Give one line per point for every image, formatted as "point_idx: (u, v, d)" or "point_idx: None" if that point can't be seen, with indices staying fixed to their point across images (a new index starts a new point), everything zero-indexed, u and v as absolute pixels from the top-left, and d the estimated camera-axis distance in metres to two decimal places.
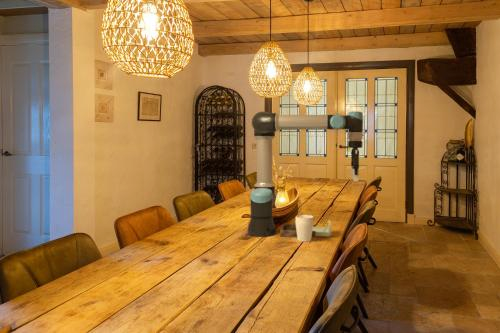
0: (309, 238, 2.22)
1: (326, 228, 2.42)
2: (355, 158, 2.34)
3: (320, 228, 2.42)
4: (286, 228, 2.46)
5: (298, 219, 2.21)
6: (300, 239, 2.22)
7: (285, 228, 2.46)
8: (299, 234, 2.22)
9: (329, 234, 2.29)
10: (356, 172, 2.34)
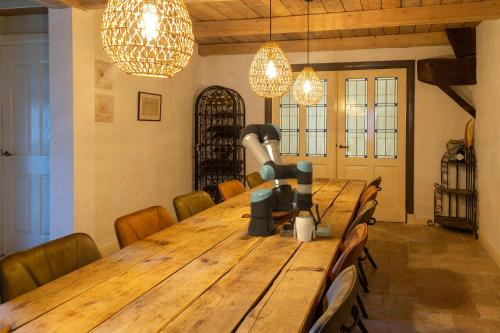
0: (309, 238, 2.22)
1: (326, 228, 2.42)
2: (290, 212, 2.25)
3: (320, 228, 2.42)
4: (286, 228, 2.46)
5: (298, 219, 2.21)
6: (300, 239, 2.22)
7: (285, 228, 2.46)
8: (299, 234, 2.22)
9: (329, 234, 2.29)
10: None
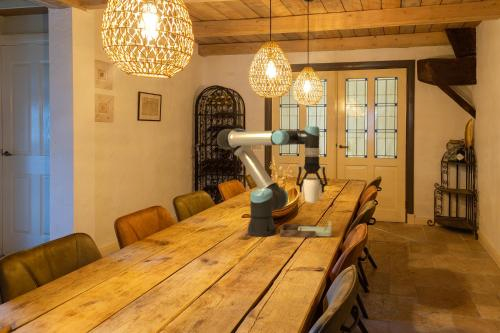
0: (316, 199, 2.33)
1: (326, 228, 2.42)
2: (298, 175, 2.36)
3: (320, 228, 2.42)
4: (286, 228, 2.46)
5: (306, 181, 2.32)
6: (308, 200, 2.33)
7: (285, 228, 2.46)
8: (307, 195, 2.33)
9: (329, 234, 2.29)
10: None
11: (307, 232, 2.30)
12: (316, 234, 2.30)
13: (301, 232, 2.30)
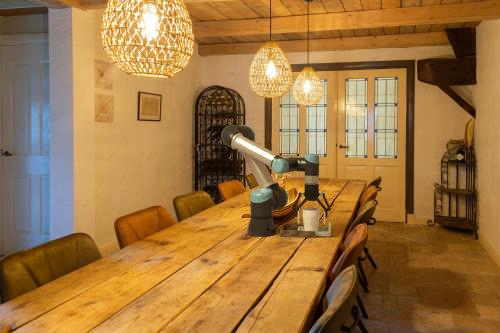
0: (316, 229, 2.35)
1: (326, 228, 2.42)
2: (296, 200, 2.38)
3: (320, 228, 2.42)
4: (286, 228, 2.46)
5: (305, 211, 2.34)
6: (307, 230, 2.35)
7: (285, 228, 2.46)
8: (306, 226, 2.34)
9: (329, 234, 2.30)
10: None
11: (307, 232, 2.30)
12: (316, 234, 2.30)
13: (301, 232, 2.30)
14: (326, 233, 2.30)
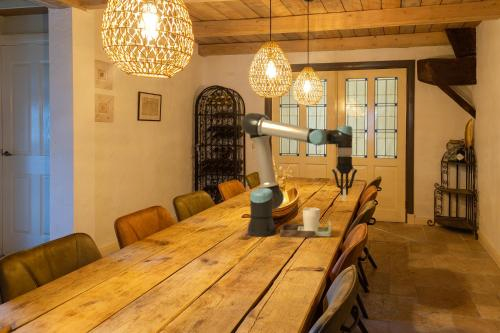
0: (316, 229, 2.35)
1: (326, 228, 2.42)
2: (335, 178, 2.34)
3: (320, 228, 2.42)
4: (286, 228, 2.46)
5: (305, 211, 2.34)
6: (307, 230, 2.35)
7: (285, 228, 2.46)
8: (306, 226, 2.34)
9: (329, 234, 2.30)
10: None
11: (307, 232, 2.30)
12: (316, 234, 2.30)
13: (301, 232, 2.30)
14: (326, 233, 2.30)
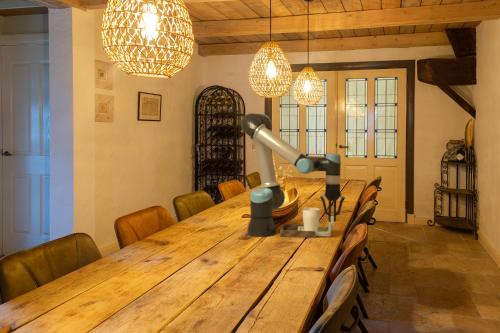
0: (316, 229, 2.35)
1: (326, 228, 2.42)
2: (323, 204, 2.36)
3: (320, 228, 2.42)
4: (286, 228, 2.46)
5: (305, 211, 2.34)
6: (307, 230, 2.35)
7: (285, 228, 2.46)
8: (306, 226, 2.34)
9: (329, 234, 2.30)
10: (328, 218, 2.35)
11: (307, 232, 2.30)
12: (316, 234, 2.30)
13: (301, 232, 2.30)
14: (326, 233, 2.30)
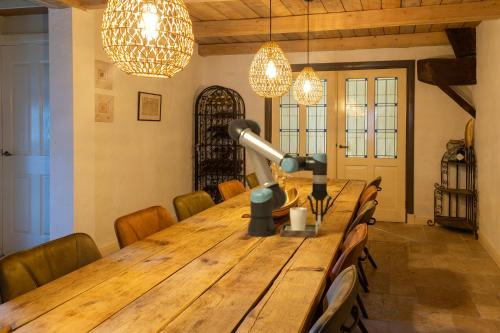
0: (303, 229, 2.36)
1: (313, 228, 2.43)
2: (310, 204, 2.37)
3: (307, 228, 2.43)
4: None
5: (292, 211, 2.35)
6: None
7: None
8: (293, 225, 2.35)
9: (315, 234, 2.31)
10: None
11: (307, 232, 2.30)
12: None
13: (301, 232, 2.30)
14: None
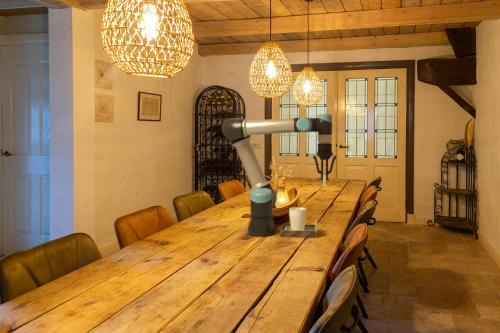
0: (302, 229, 2.36)
1: (313, 228, 2.43)
2: None
3: (307, 228, 2.43)
4: None
5: (292, 211, 2.35)
6: None
7: None
8: (293, 225, 2.35)
9: (315, 234, 2.31)
10: None
11: (307, 232, 2.30)
12: None
13: (301, 232, 2.30)
14: None
